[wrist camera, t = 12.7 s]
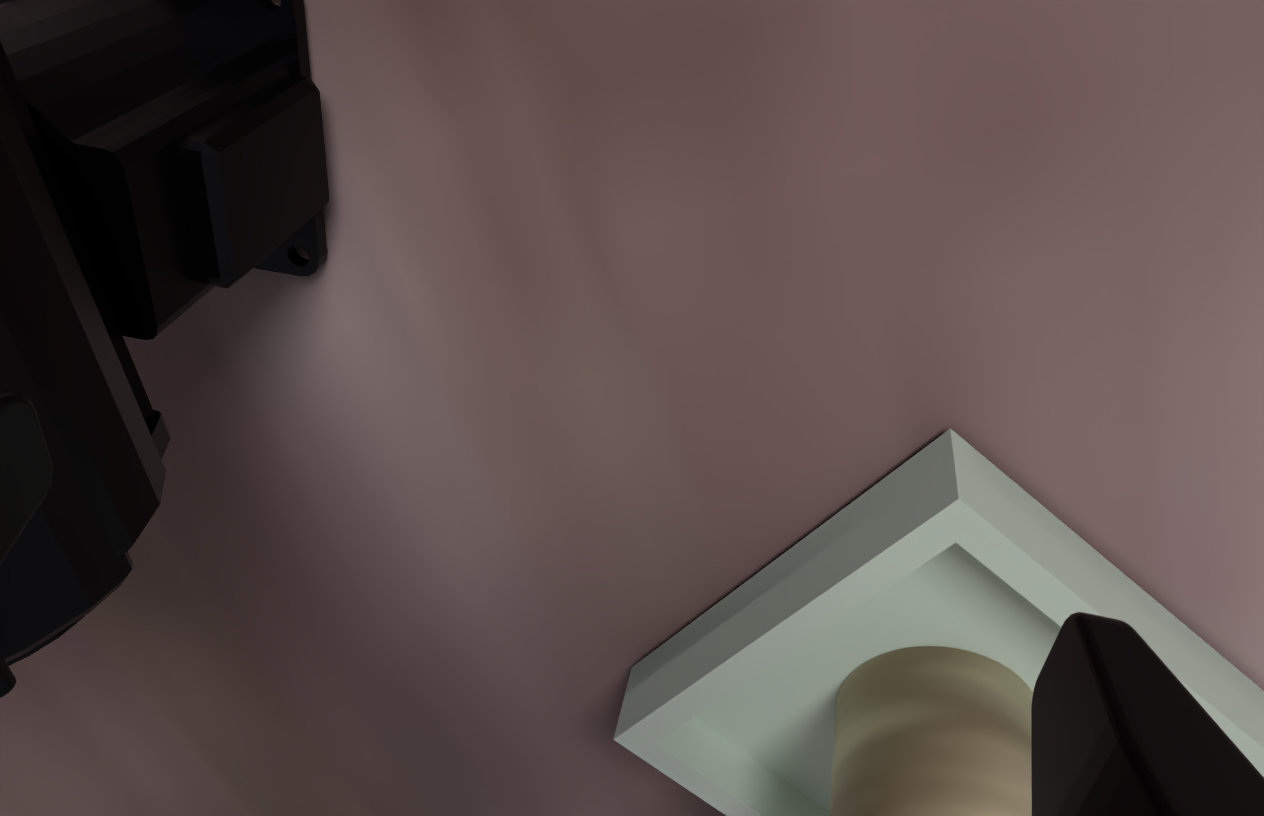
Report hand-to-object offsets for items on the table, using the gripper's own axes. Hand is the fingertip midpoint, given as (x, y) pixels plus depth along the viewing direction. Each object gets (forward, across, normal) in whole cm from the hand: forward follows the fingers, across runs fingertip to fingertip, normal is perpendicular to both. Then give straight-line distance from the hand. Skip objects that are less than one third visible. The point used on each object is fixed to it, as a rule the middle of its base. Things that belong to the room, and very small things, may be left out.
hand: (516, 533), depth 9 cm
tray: (+13, -8, +15) cm, 21 cm away
